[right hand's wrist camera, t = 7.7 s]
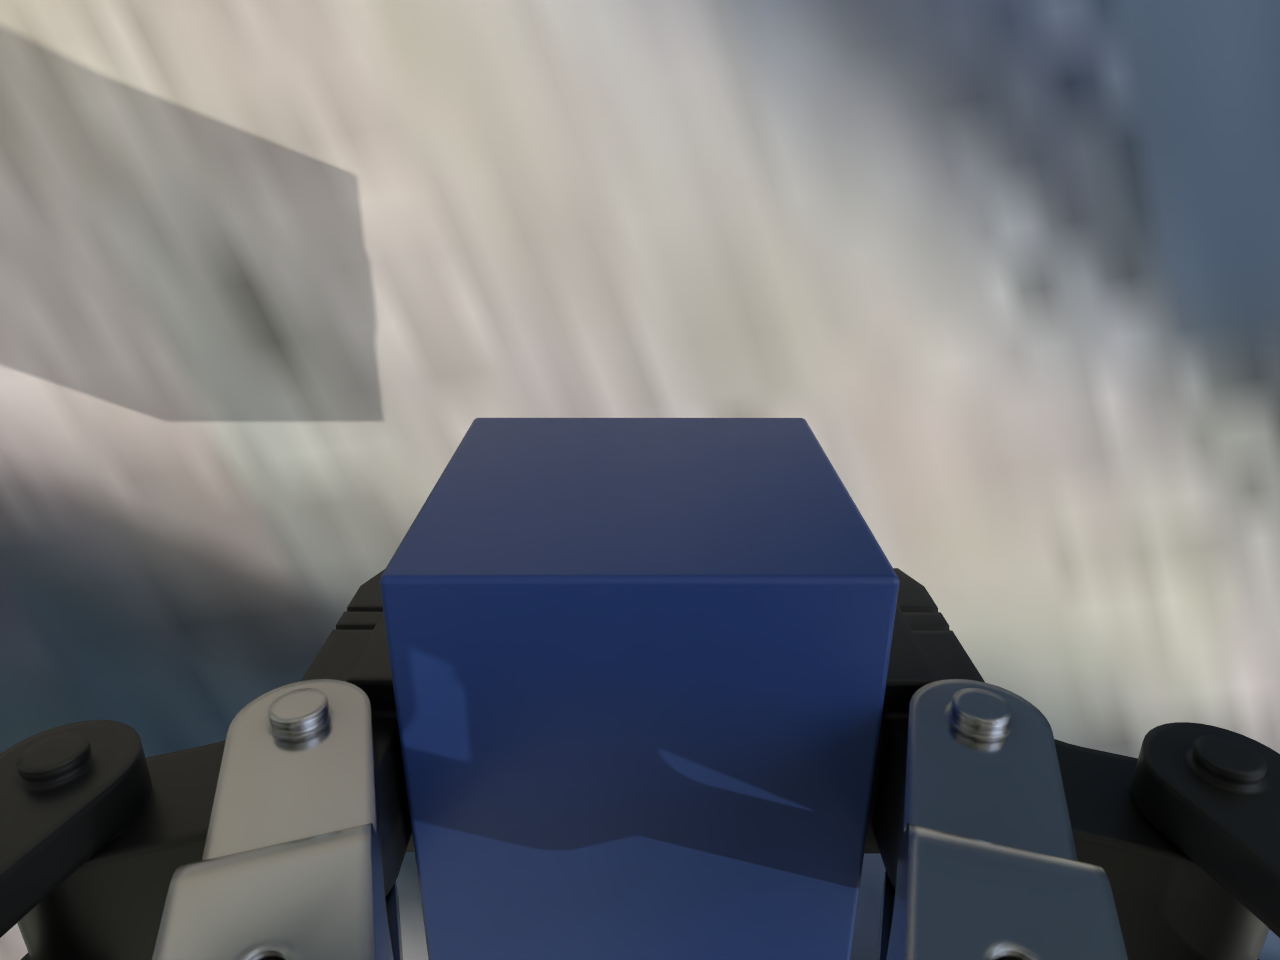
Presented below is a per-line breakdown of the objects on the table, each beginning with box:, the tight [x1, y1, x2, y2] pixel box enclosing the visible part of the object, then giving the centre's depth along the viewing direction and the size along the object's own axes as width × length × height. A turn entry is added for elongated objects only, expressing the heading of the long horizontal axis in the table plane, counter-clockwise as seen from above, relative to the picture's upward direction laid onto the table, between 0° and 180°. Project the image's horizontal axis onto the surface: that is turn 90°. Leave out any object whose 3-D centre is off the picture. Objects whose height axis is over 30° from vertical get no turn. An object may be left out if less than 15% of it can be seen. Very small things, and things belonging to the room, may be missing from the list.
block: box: [379, 418, 899, 960], centre depth 10 cm, size 5×5×5 cm
